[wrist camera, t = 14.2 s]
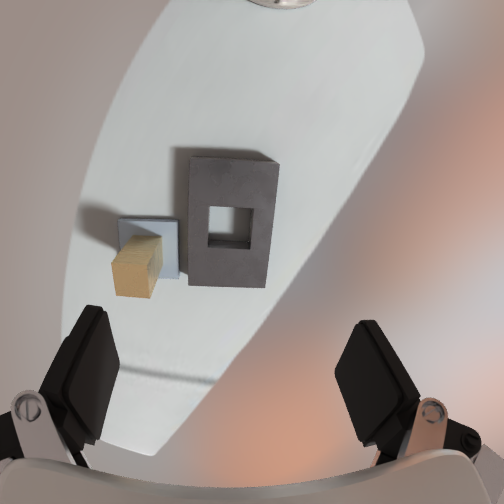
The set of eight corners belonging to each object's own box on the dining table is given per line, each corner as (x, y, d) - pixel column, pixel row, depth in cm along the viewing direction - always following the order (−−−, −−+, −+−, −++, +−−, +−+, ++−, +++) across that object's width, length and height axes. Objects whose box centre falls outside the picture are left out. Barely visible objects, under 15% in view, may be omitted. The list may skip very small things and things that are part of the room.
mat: (120, 218, 33) (117, 220, 32) (178, 219, 34) (177, 222, 33) (125, 272, 36) (123, 276, 35) (179, 275, 37) (178, 279, 36)
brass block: (132, 235, 33) (111, 262, 26) (162, 236, 34) (146, 265, 26) (134, 263, 35) (116, 295, 28) (163, 264, 35) (150, 298, 28)
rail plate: (192, 156, 31) (189, 158, 29) (275, 161, 32) (279, 163, 30) (190, 276, 38) (188, 285, 35) (262, 278, 39) (265, 287, 36)
